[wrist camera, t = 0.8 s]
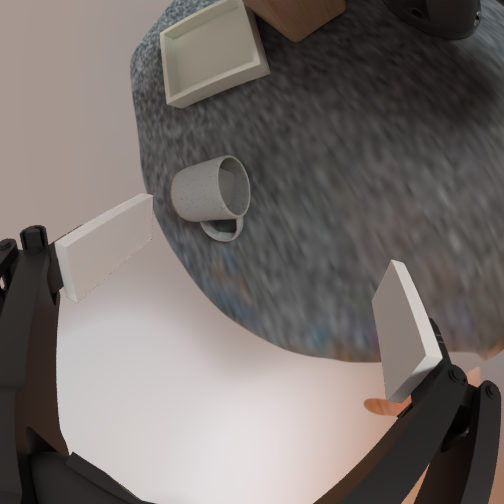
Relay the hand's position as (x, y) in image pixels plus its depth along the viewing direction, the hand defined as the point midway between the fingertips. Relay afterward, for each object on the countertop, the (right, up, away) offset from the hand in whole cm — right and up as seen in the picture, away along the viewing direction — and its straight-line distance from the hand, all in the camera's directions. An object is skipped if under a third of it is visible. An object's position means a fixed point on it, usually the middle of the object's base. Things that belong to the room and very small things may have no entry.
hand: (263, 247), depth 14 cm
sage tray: (-6, +29, +18) cm, 35 cm away
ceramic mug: (-4, +7, +23) cm, 25 cm away
